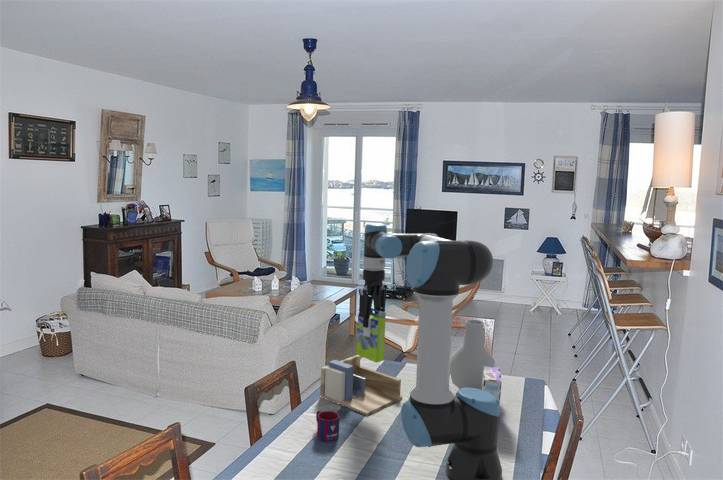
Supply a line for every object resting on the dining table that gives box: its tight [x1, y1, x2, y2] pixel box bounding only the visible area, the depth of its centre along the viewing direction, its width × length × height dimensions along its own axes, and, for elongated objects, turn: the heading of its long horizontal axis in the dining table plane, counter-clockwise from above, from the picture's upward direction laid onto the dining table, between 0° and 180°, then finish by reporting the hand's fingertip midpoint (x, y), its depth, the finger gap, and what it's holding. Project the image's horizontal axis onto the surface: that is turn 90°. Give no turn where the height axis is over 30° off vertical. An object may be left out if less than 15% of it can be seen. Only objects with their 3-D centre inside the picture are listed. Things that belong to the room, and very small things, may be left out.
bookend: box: [352, 374, 366, 399], centre depth 203 cm, size 6×10×6 cm, turn 50°
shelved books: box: [325, 359, 353, 402], centre depth 198 cm, size 5×9×12 cm, turn 50°
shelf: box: [320, 354, 403, 417], centre depth 201 cm, size 20×22×11 cm
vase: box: [450, 319, 496, 390], centre depth 206 cm, size 17×16×28 cm
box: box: [355, 307, 387, 363], centre depth 194 cm, size 10×4×17 cm, turn 43°
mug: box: [315, 410, 340, 442], centre depth 173 cm, size 7×10×7 cm
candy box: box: [482, 366, 503, 404], centre depth 186 cm, size 14×6×16 cm, turn 168°
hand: (371, 334), depth 194 cm, fingers closed on box, 4 cm apart
